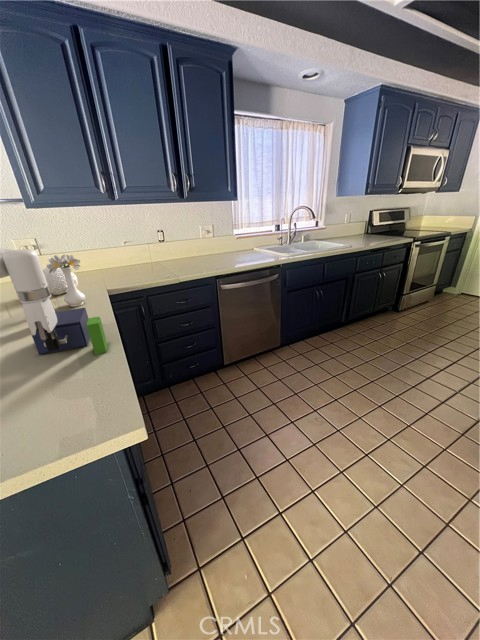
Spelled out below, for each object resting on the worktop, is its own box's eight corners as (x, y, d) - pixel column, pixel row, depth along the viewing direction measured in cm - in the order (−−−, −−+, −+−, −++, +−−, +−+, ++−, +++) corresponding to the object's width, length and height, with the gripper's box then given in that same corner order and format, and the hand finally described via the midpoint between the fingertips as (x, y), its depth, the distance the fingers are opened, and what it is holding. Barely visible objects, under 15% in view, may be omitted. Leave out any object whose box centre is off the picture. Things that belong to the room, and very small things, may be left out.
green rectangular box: (95, 354, 89) (86, 325, 84) (96, 346, 94) (88, 318, 89) (106, 352, 90) (98, 323, 85) (107, 344, 95) (99, 316, 90)
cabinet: (87, 345, 94) (80, 321, 90) (39, 355, 89) (29, 329, 85) (91, 329, 107) (85, 307, 103) (49, 336, 102) (41, 313, 98)
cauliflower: (65, 282, 140) (51, 256, 141) (38, 300, 141) (23, 274, 141) (89, 288, 160) (76, 265, 161) (65, 303, 160) (52, 280, 161)
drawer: (82, 352, 88) (76, 331, 85) (35, 361, 84) (26, 339, 81) (88, 330, 104) (83, 311, 101) (49, 336, 100) (42, 318, 96)
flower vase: (92, 297, 144) (79, 250, 134) (88, 308, 129) (73, 256, 118) (65, 300, 140) (49, 252, 130) (57, 312, 124) (39, 259, 114)
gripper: (27, 288, 81) (47, 341, 88) (8, 304, 68) (33, 364, 76) (55, 285, 83) (72, 336, 91) (42, 300, 71) (63, 358, 78)
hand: (54, 349), depth 83 cm, fingers closed
